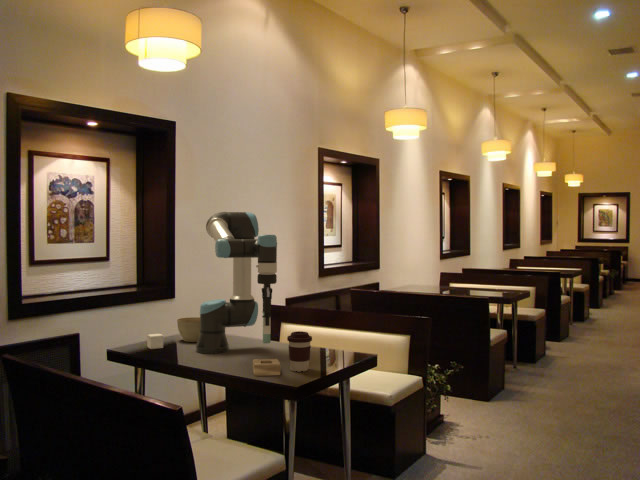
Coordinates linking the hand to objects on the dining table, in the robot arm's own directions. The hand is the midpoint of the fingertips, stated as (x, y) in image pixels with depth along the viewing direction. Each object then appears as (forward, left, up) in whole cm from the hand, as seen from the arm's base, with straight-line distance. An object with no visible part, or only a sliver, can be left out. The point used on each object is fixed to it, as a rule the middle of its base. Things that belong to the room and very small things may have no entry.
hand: (266, 333), depth 221 cm
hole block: (0, 0, -16) cm, 16 cm away
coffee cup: (-2, +13, -16) cm, 21 cm away
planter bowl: (-70, -32, -16) cm, 78 cm away
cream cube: (-55, -49, -16) cm, 75 cm away
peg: (0, 0, -4) cm, 4 cm away
